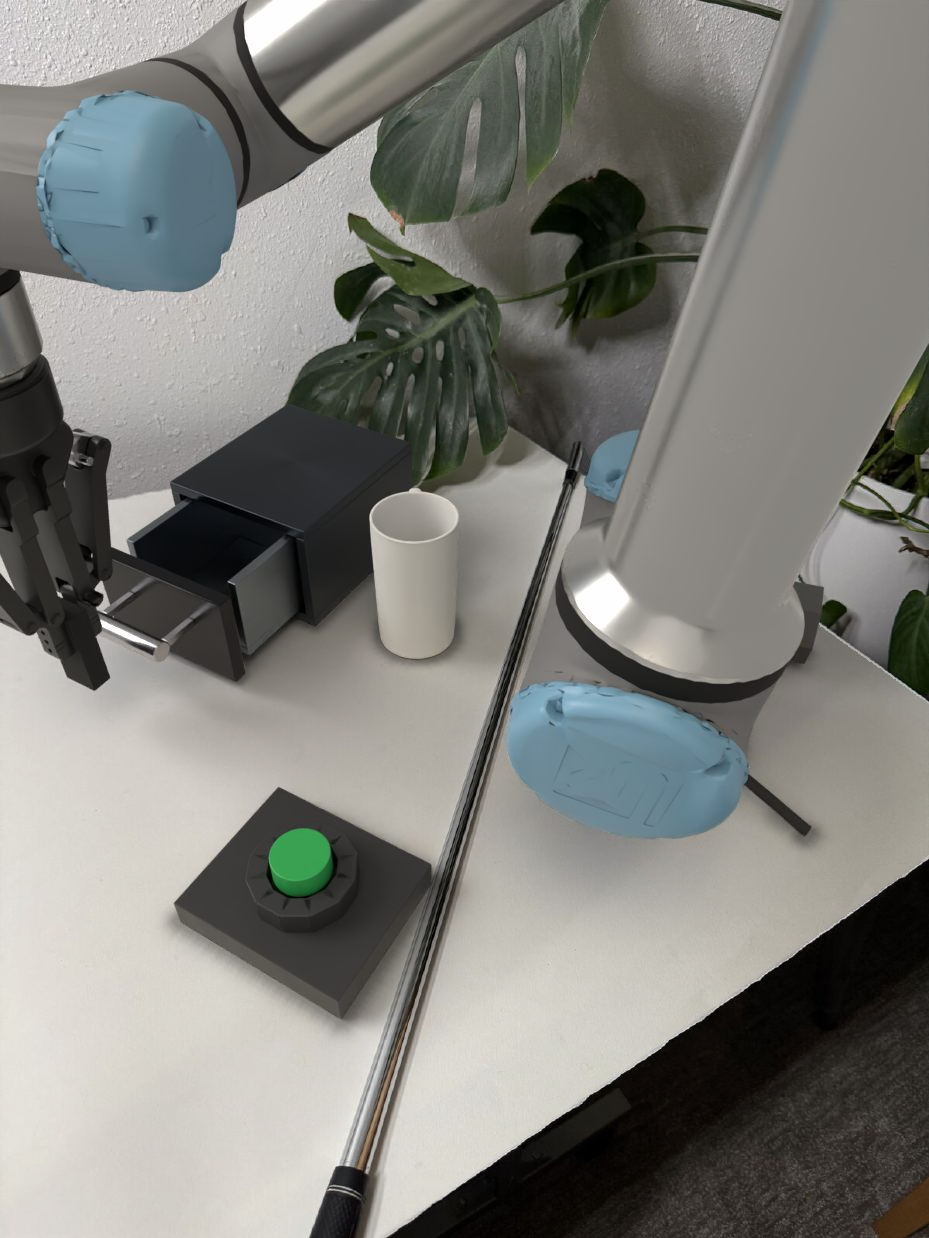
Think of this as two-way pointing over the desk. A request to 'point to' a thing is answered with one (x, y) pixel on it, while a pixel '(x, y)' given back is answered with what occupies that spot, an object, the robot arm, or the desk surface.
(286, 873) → the button
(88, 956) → the desk surface
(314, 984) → the control block
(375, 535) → the mug
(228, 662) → the drawer
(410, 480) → the cabinet
